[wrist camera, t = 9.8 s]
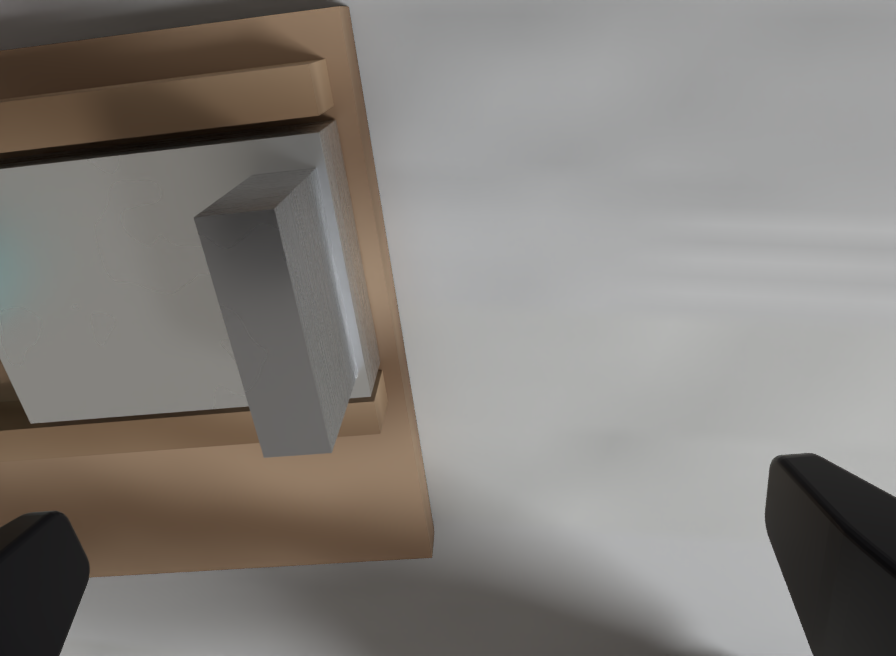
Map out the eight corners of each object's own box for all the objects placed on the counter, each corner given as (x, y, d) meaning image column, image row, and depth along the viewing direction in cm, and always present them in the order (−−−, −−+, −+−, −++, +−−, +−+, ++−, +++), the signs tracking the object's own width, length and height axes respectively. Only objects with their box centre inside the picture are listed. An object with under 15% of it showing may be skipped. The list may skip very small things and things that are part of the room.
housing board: (434, 530, 22) (428, 598, 19) (-59, 561, 23) (-123, 626, 21) (348, 6, 15) (323, 5, 13) (-342, 97, 17) (-488, 112, 14)
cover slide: (380, 361, 18) (347, 480, 13) (69, 387, 18) (-61, 507, 14) (336, 119, 15) (275, 165, 10) (-28, 161, 16) (-229, 221, 11)
